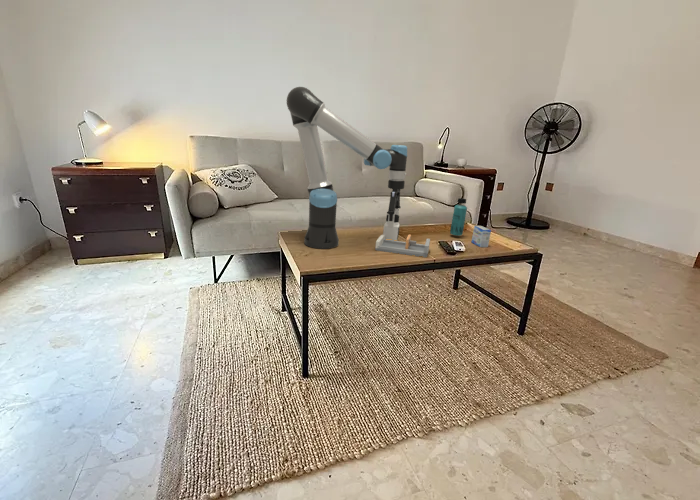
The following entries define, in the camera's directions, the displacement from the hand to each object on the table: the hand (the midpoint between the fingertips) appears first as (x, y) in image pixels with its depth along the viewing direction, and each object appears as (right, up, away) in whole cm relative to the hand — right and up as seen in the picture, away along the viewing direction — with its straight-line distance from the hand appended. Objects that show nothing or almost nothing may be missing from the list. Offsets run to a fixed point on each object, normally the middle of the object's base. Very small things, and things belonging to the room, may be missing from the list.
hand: (392, 224), depth 166 cm
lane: (+2, -12, -15) cm, 19 cm away
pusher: (+6, -12, -16) cm, 20 cm away
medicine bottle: (-1, -7, +2) cm, 7 cm away
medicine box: (+42, -10, +1) cm, 43 cm away
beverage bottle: (+34, -6, +13) cm, 37 cm away
